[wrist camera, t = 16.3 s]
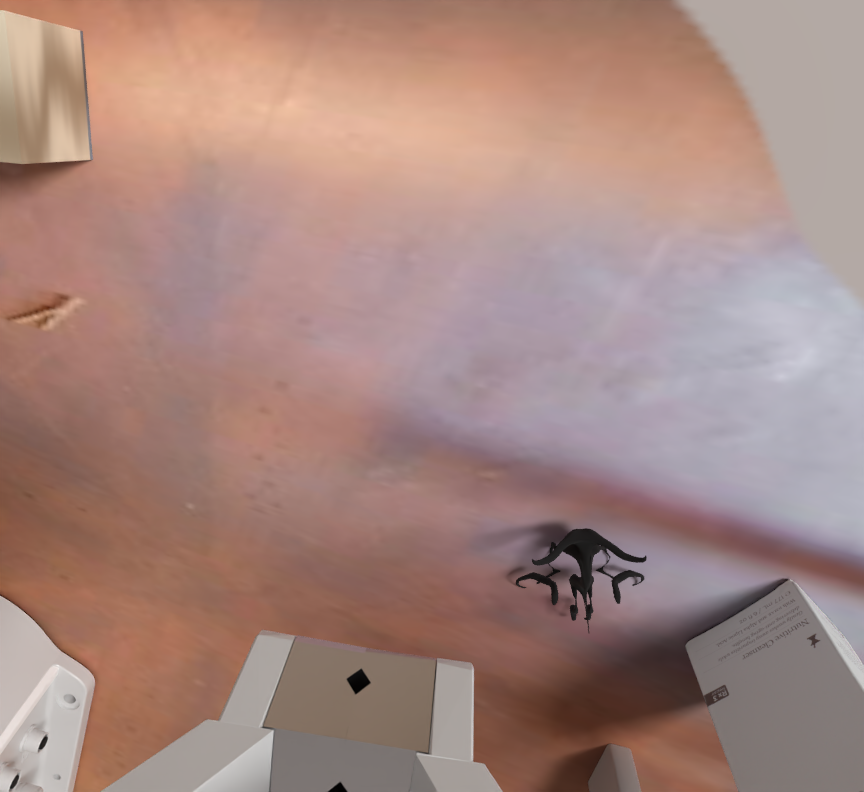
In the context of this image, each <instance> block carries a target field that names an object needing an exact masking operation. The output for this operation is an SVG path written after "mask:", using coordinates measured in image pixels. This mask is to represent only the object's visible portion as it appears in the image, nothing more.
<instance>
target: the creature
mask: <svg viewBox="0 0 864 792" xmlns="http://www.w3.org/2000/svg"><path fill="white" fill-rule="evenodd" d="M599 545H601V546H599ZM553 548H554V550H553ZM606 548H607V549H609V550H610V551H611V552H613V553H614V554H615V555H616V556H618V557H619V558H621V559H623V560H626V561H630V562H645V561H646V556H645V557H644V558H639V557H634V556H631V555H629V554H626V553H624V552H623V551H622V550H620V549H619V548H618V547H617V546H615V545H614V544H612V543H611V542H609V541H608V540H606V539H605V538H603V537H602V536H600V535H599V534H598V533H597V532H595V531H593V530H591V529H575V530H572V531H571V532H570V533H568V534H567V536H566V537H565V538H564V539H563V540H562V541H561V542H560V543H559V544H558V545H557V546H556V544H555V543H554V542H552V543H551V548H550V554H549V555H548V556H547V557H545V558H543V559H541V560H537V561H535V560H533V559H532V562H533V564H534V565H544V564H549V563H550V562H552V561H554V560H555V559H556V558H557V557H558V556H559V555H560V554H561V552H562V551H563V552H565V553H566V554H569V555H571V556H572V557H574V558H575V559H576V560H577V562H578V564H579V566H580V570H581V577H578V576H577V575H576V574H573V575H572V576H571V577H570V579H569V581H570V585H571V589H572V593H573V596H574V598H575V602H576V603H575V605H571V606H570V613H571V618H572V620H573V621H574V620H576V614H577V613H578V608H577V600H576V598H577V590H578V591H579V592H580V593H581V594H582V596H583V599H584V603H585V602H586V606H585V609H586V618H584V619H585V620H587V623H588V620H590V619H591V613H593V608H592V602H591V597H592V584H593V582H594V578H593V576H592V575H591V574H592V561H593V557H594V555H595V554H597V553H598V552H599V551H600V550H605V552H606V554H607V555H608V556H609V554H608V553H607V550H606ZM609 559H610V556H609ZM608 562H609V560H608ZM608 562H607V563H608ZM607 563H606V564H607ZM604 566H605V565H604ZM604 566H603V567H604ZM603 567H602V568H599V569H597V570H596V571H599V572H601V573H603V574H606V575H608V576H610V577H611V578H613V580H612V587H613V593H614V598H615V600H616V602H617V603H618V604H620V598H621V597H620V591H619V587H618V583H620V582H622V581H623V580H625V579H627V578H628V577H634V576H636V577H641V582H642V581H643V580H644V576H643V575H642V574H640V573H637V572H634V571H631V570H628V571H624V572H622V573H619V574H618V575H616V576H615V577H613V576H611V575H609V574H607V573H606V572H604V571H603ZM552 568H553V567H552ZM558 572H560V571H559V570H556V569H554V568H553V572H552V573H551V574H550V575H548V576H547V577H545V576H543V575H540V574H537V573H534V572H533V573H530V574H528V575H525V576H522V577H520V578H518V579H517V580H516V585H517V586H519V587H521V588H526V587H522V586H520V585H519V581H521V580H526V579H535V580H537V581H538V582H537V583H536V584H539V583H540V582H541V583H543V584H546V585H549V586H550V587H551V596H552V604H553V605H555V604H556V603H557V601H558V590H557V585H556V582H554V581H552V580H551V579H550V578H548V577H550V576H552V575H554V574H556V573H558ZM641 582H639V583H641ZM639 583H637V584H639ZM637 584H634V585H637ZM634 585H632V586H634ZM587 592H588V595H589V598H590V604H588V605H587ZM588 631H589V625H588Z"/></svg>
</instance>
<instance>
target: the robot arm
mask: <svg viewBox="0 0 864 792" xmlns="http://www.w3.org/2000/svg"><path fill="white" fill-rule="evenodd" d="M94 687H95V679H94V677H93V675H92V674H91V672H90V671H89V670H88V669H86V668H85V667H84V666H83V665H81V664H80V663H78V662H77V661H75V660H74V659H72V658H71V657H69V656H68V655H66V654H65V653H63V652H61V651H60V650H59V649H58V648H57V647H56V646H55V645H54V644H53V643H52V641H51V640H50V639H49V638H48V636H47V635H46V634H45V633H44V631H43V630H42V629H41V628H40V627H39V626H38V625H37V623H36V622H35V621H34V620H33V619H32V618H30V617H29V616H28V615H27V614H26V613H25V612H24V611H22V610H21V609H20V608H18V607H17V606H16V605H14V604H13V603H11V602H10V601H8V600H7V599H5V598H3V597H1V596H0V792H73V789H74V784H75V779H76V774H77V770H78V765H79V760H80V755H81V750H82V745H83V740H84V736H85V731H86V726H87V721H88V716H89V711H90V707H91V702H92V697H93V692H94ZM473 712H474V668H473V665H472V663H469V662H462V661H455V660H447V659H440V658H437V659H435V658H430V657H423V656H416V655H410V654H403V653H397V652H390V651H383V650H377V649H370V648H363V647H358V646H352V645H347V644H342V643H336V642H331V641H325V640H320V639H314V638H309V637H304V636H294V635H288V634H283V633H278V632H272V631H267V630H261V632H260V633H259V634H258V635H257V636H256V637H255V639H254V642H253V644H252V646H251V648H250V651H249V653H248V655H247V657H246V659H245V662H244V664H243V666H242V668H241V671H240V673H239V675H238V677H237V680H236V682H235V684H234V686H233V688H232V691H231V693H230V695H229V697H228V700H227V702H226V704H225V706H224V708H223V711H222V713H221V715H220V717H219V720H218V721H215V720H208V719H206V720H205V721H204V722H202V723H201V724H199V725H198V726H196V727H195V728H193V729H192V730H190V731H189V732H187V733H186V734H184V735H183V736H182V737H180V738H179V739H177V740H176V741H174V742H173V743H171V744H170V745H168V746H167V747H165V748H164V749H162V750H161V751H159V752H158V753H157V754H155V755H154V756H152V757H151V758H149V759H148V760H146V761H145V762H143V763H142V764H140V765H139V766H137V767H136V768H134V769H133V770H132V771H130V772H129V773H127V774H126V775H124V776H123V777H121V778H120V779H118V780H117V781H115V782H114V783H112V784H111V785H109V786H108V787H107V788H105V789H104V790H102V791H101V792H503V791H502V790H501V788H500V787H499V785H498V784H497V782H496V781H495V779H494V778H493V776H492V775H491V773H490V772H489V770H488V769H487V767H486V766H485V764H482V763H477V762H473Z"/></svg>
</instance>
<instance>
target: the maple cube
mask: <svg viewBox="0 0 864 792" xmlns="http://www.w3.org/2000/svg"><path fill="white" fill-rule="evenodd" d="M81 160H93V158H92V145H91V133H90V120H89V107H88V95H87V82H86V69H85V57H84V44H83V31H80V30H76V29H72V28H68V27H64V26H61V25H57V24H53V23H49V22H46V21H42V20H38V19H34V18H30V17H27V16H23V15H19V14H15V13H11V12H8V11H3V10H0V162H7V163H17V164H31V163H47V162H64V161H81Z"/></svg>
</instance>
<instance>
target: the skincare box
mask: <svg viewBox="0 0 864 792" xmlns="http://www.w3.org/2000/svg"><path fill="white" fill-rule="evenodd" d="M685 647H686V650H687V653H688V656H689V658H690V661H691V664H692V666H693V669H694V672H695V674H696V677H697V680H698V682H699V685H700V688H701V691H702V694H703V696H704V699H705V702H706V705H707V707H708V710H709V713H710V715H711V718H712V720H713V723H714V726H715V729H716V732H717V734H718V737H719V740H720V742H721V745H722V748H723V750H724V753H725V756H726V759H727V761H728V764H729V767H730V769H731V772H732V775H733V777H734V780H735V783H736V786H737V789H738V792H864V665H863V664H862V662H861V661H860V659H859V658H858V656H857V655H856V653H855V652H854V650H853V649H852V647H851V646H850V644H849V643H848V641H847V640H846V638H845V637H844V635H843V634H842V633H841V632H840V631H839V630H838V629H837V628H836V626H835V625H834V624H833V623H832V622H831V621H830V620H829V619H828V617H827V616H826V615H825V614H824V613H823V612H822V611H821V610H820V609H819V608H818V607H817V605H816V604H815V603H814V602H813V601H812V600H811V599H810V598H809V597H808V596H807V594H806V593H805V592H804V591H803V590H802V589H801V588H800V587H799V586H798V585H797V584H796V583H795V582H793V581H792V580H788V581H786V582H785V583H784V584H782V585H780V586H779V587H777V588H776V589H775V590H774V591H772V592H771V593H769V594H768V595H766V596H765V597H763V598H762V599H760V600H758V601H757V602H755V603H754V604H752V605H751V606H749V607H748V608H746V609H744V610H743V611H741V612H739V613H738V614H736V615H735V616H733V617H731V618H730V619H728V620H726V621H724V622H723V623H721V624H719V625H717V626H716V627H714V628H712V629H710V630H708V631H707V632H705V633H703V634H701V635H699V636H697V637H695V638H693V639H691V640H690V641H689V642H687V644H686V645H685Z"/></svg>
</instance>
